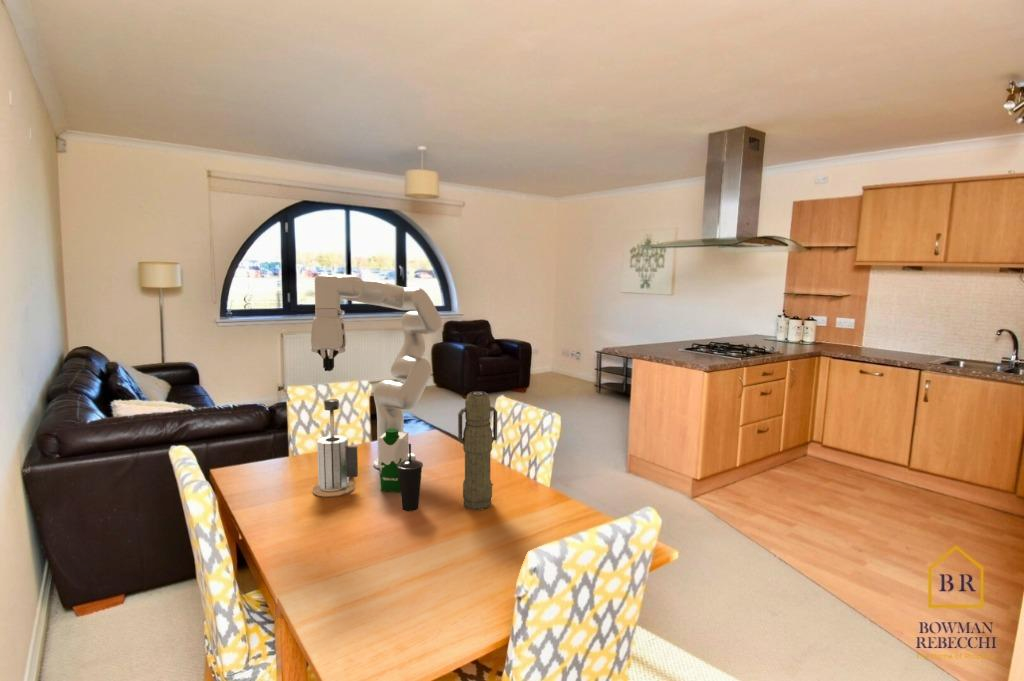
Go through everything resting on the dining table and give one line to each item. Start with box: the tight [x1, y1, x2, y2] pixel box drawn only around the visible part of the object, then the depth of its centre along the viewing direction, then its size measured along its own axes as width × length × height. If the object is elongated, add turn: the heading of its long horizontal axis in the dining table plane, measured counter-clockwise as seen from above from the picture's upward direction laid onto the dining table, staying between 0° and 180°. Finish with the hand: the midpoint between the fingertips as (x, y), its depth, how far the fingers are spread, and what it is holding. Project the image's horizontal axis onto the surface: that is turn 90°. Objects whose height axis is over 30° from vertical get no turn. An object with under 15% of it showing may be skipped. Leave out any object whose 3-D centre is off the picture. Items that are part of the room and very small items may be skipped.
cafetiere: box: [312, 434, 359, 498], centre depth 173 cm, size 14×13×17 cm
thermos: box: [457, 390, 498, 511], centre depth 162 cm, size 9×12×35 cm
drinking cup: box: [397, 443, 424, 512], centre depth 159 cm, size 8×8×20 cm
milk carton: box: [379, 429, 410, 493], centre depth 175 cm, size 9×9×20 cm
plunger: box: [323, 398, 340, 442], centre depth 172 cm, size 4×4×19 cm
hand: (328, 370), depth 172 cm, fingers closed
